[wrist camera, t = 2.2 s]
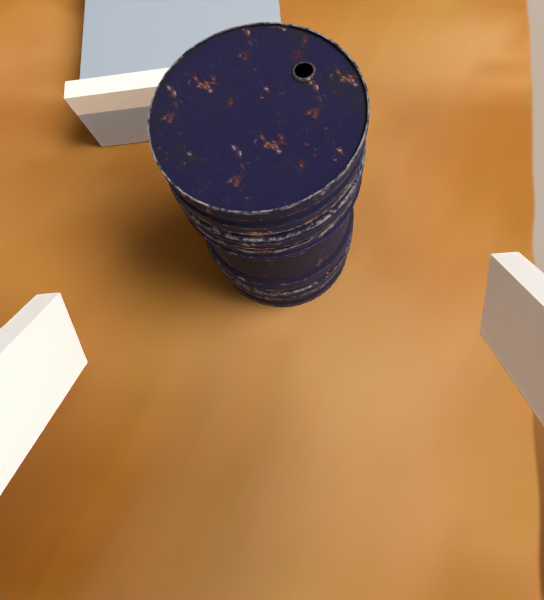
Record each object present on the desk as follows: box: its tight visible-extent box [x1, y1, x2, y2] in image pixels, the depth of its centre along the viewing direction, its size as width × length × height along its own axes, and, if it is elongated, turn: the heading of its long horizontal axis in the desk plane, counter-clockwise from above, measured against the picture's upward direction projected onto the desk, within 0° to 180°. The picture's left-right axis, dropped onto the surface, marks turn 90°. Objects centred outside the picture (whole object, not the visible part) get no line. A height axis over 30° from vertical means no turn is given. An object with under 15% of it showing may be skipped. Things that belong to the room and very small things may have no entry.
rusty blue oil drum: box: [147, 22, 370, 307], centre depth 26 cm, size 10×10×15 cm
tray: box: [64, 0, 281, 147], centre depth 36 cm, size 16×16×6 cm
